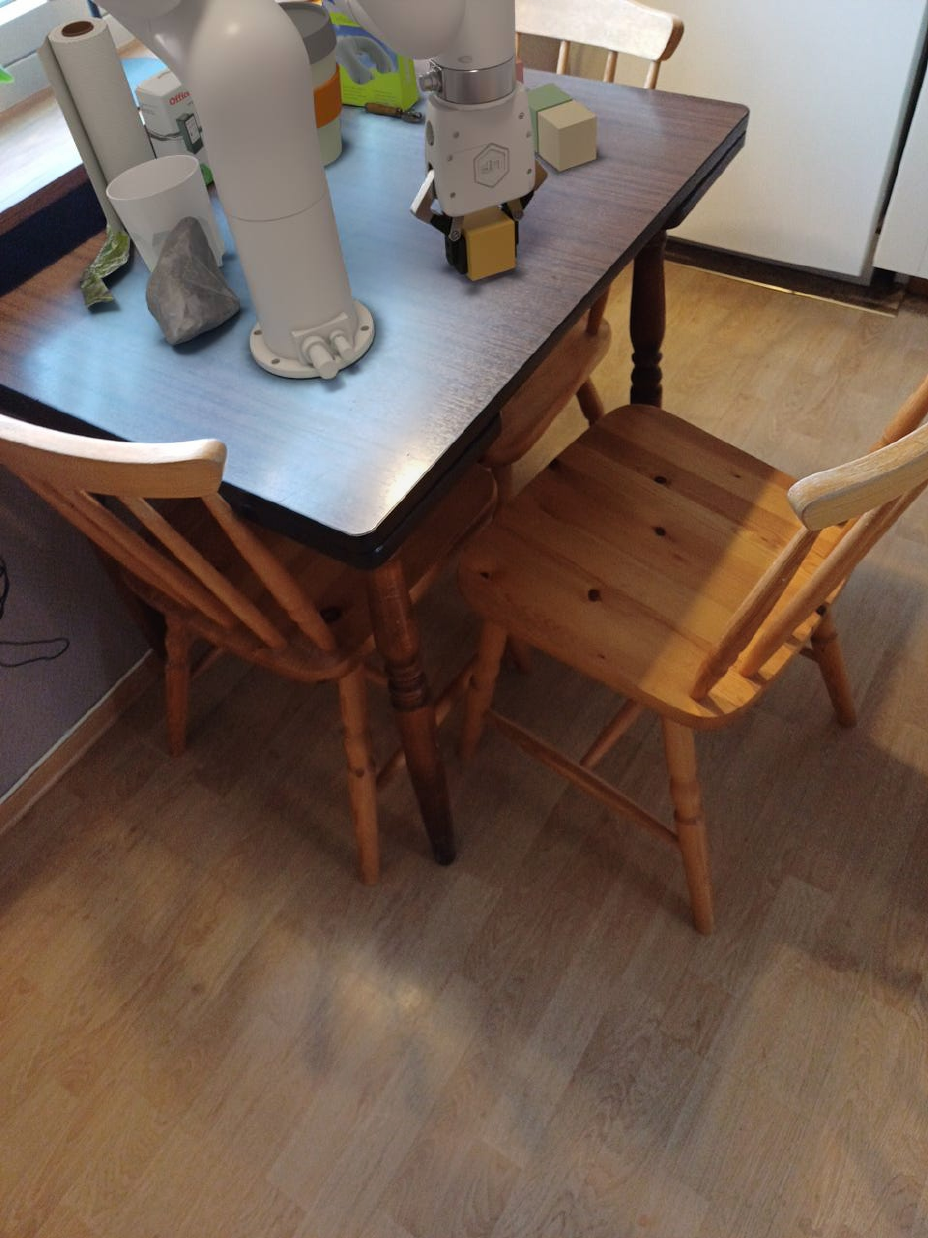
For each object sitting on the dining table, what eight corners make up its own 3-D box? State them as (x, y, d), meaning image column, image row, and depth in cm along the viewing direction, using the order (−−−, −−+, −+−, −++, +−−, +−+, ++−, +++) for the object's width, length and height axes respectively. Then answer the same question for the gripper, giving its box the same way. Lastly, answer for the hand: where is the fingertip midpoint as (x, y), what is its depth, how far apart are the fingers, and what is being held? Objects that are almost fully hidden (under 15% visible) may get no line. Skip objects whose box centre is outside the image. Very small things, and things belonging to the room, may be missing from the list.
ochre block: (515, 267, 99) (514, 221, 95) (472, 281, 97) (470, 235, 94) (493, 245, 102) (491, 200, 98) (451, 258, 100) (448, 213, 96)
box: (338, 104, 127) (309, -45, 113) (353, 90, 129) (327, -58, 116) (406, 114, 124) (385, -39, 110) (421, 100, 126) (402, -52, 112)
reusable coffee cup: (261, 187, 116) (225, 55, 104) (255, 139, 123) (221, 11, 111) (362, 167, 116) (338, 34, 104) (350, 121, 124) (326, -8, 112)
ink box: (193, 196, 116) (159, 95, 107) (165, 187, 118) (129, 88, 109) (240, 163, 120) (212, 63, 110) (212, 155, 122) (182, 56, 112)
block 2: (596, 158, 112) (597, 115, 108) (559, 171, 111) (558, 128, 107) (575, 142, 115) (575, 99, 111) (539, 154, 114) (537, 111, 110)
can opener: (364, 112, 125) (362, 103, 124) (375, 104, 126) (373, 95, 125) (419, 126, 121) (418, 116, 120) (429, 118, 122) (428, 108, 121)
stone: (192, 310, 106) (109, 281, 98) (241, 228, 101) (157, 191, 93) (231, 382, 101) (147, 357, 93) (284, 299, 95) (200, 266, 88)
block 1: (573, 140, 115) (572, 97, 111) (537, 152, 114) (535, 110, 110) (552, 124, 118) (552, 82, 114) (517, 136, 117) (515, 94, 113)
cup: (251, 251, 105) (217, 160, 98) (182, 296, 101) (141, 205, 93) (198, 237, 110) (162, 150, 103) (131, 279, 106) (88, 192, 99)
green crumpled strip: (113, 299, 100) (118, 321, 102) (169, 192, 117) (172, 212, 119) (52, 292, 100) (57, 314, 102) (117, 185, 116) (120, 206, 118)
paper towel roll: (175, 206, 114) (105, 9, 97) (179, 231, 111) (107, 32, 94) (116, 220, 114) (35, 24, 97) (118, 246, 110) (34, 47, 93)
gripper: (404, 115, 81) (424, 302, 95) (577, 66, 85) (571, 253, 99) (371, 83, 85) (394, 267, 100) (537, 39, 89) (537, 222, 103)
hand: (483, 258), depth 99 cm, fingers closed on ochre block, 5 cm apart
